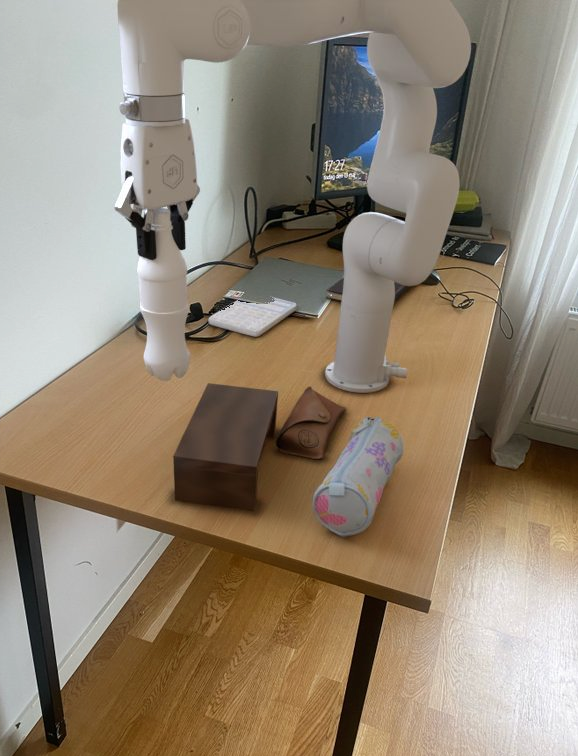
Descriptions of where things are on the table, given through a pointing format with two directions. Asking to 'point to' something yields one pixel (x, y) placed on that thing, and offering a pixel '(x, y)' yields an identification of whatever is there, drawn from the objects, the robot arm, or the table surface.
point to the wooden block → (225, 446)
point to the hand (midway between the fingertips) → (162, 251)
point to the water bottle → (164, 303)
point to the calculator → (252, 316)
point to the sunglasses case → (309, 426)
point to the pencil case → (358, 478)
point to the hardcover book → (338, 291)
